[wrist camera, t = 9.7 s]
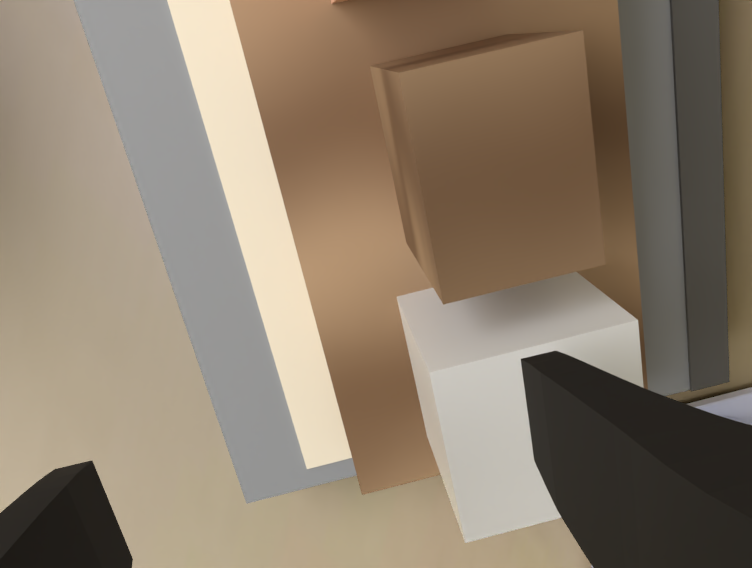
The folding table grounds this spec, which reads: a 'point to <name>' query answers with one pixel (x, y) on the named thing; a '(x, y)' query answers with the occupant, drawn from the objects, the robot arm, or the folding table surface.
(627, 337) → the block
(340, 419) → the dock
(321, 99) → the pallet
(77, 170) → the folding table surface
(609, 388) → the robot arm
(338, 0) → the block
